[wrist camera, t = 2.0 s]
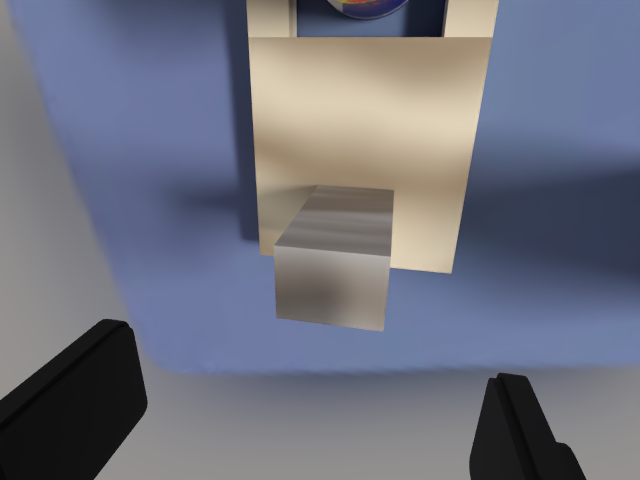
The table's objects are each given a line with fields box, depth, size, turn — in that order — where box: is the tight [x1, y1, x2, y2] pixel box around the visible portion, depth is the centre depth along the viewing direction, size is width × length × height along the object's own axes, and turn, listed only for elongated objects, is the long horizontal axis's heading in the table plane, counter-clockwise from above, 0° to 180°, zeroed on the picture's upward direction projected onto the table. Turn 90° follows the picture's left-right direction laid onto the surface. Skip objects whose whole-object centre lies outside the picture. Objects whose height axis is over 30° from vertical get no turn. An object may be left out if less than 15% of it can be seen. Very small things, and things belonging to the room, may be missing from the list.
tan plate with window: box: [246, 0, 499, 331], centre depth 14 cm, size 22×11×10 cm, turn 179°
